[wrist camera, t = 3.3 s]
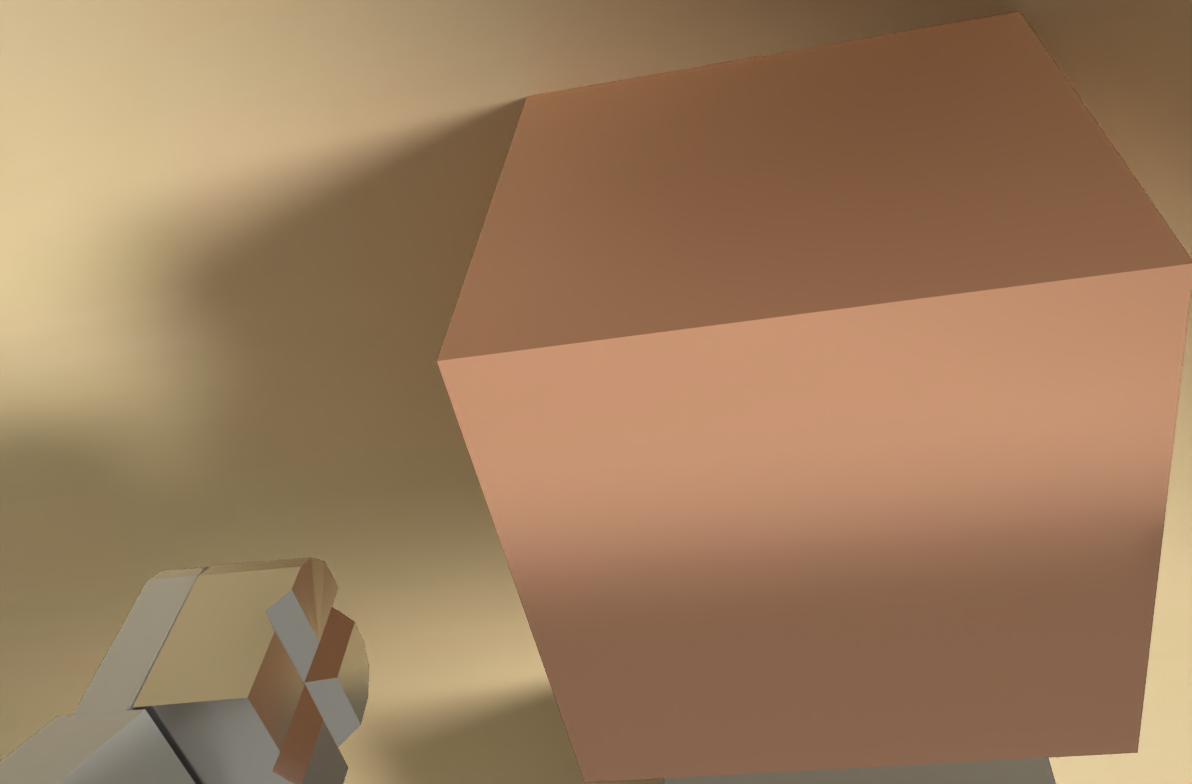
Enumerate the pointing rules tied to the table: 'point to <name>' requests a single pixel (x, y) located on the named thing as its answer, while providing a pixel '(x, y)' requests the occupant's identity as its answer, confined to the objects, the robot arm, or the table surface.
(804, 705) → the terracotta block
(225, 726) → the robot arm
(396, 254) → the table surface
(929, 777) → the slate block
